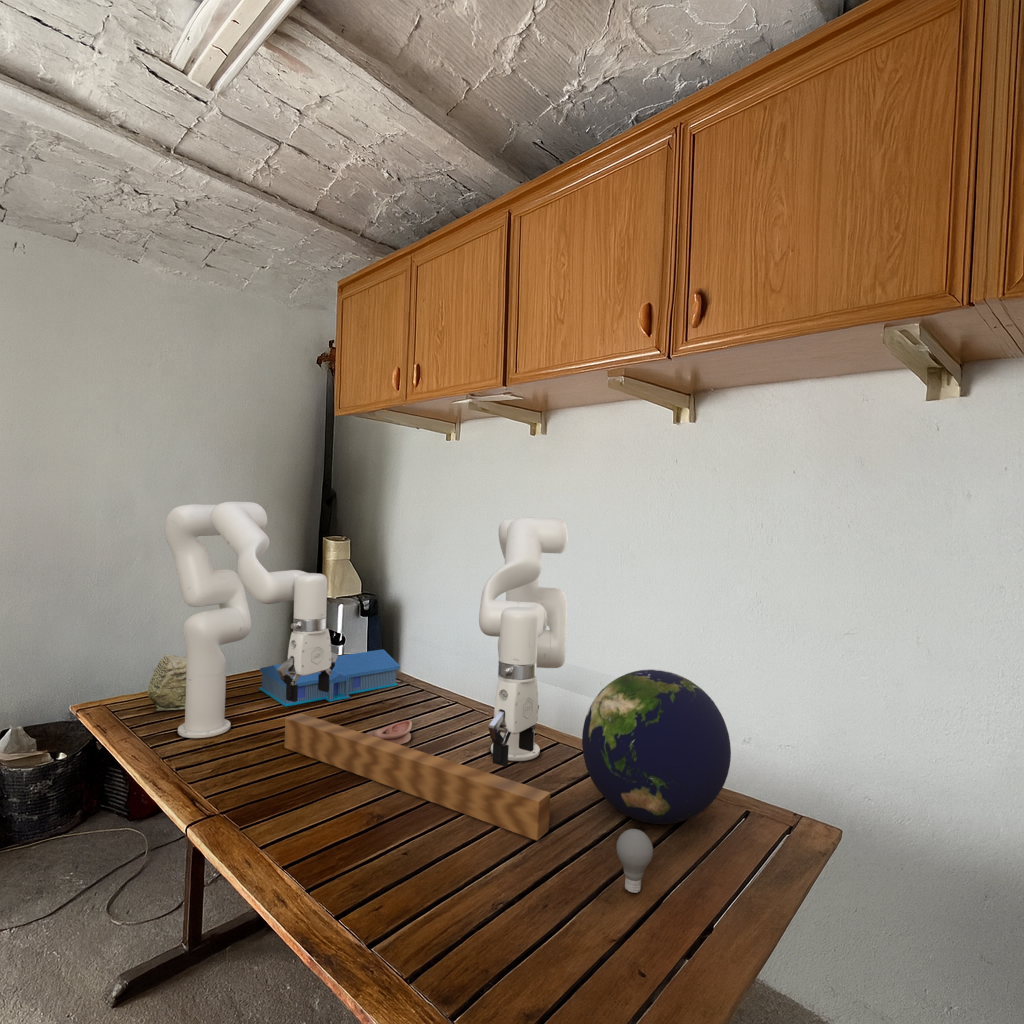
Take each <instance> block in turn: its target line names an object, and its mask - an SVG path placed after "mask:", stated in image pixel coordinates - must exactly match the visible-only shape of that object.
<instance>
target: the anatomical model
mask: <svg viewBox="0 0 1024 1024" xmlns="http://www.w3.org/2000/svg"><path fill="white" fill-rule="evenodd" d="M412 728H413V722H412V721H411V720H409V719H408V720H402V721H399V722H395V723H392V724H389V725H386V726H384V727H381V728H378V729H374V730H370V731H367V732H365V733H364V734H368V735H371V736H374V737H377V738H380V739H383V740H386V741H390V742H393V743H396V744H399V745H404V744H406V743H408V742H410V740H411V739H412V734H411V733H410V732H411V730H412Z"/></svg>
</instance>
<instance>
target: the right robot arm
mask: <svg viewBox="0 0 1024 1024" xmlns="http://www.w3.org/2000/svg"><path fill="white" fill-rule="evenodd" d="M498 541H499V546H500V549H501V552H502V556H503V558H504V564H503V565H501V566H500V567H499V568H498V569H497V570H496V571H495V572H493V574H492V575H490V577H489V578H488V579H487V580H486V582H485V584H484V586H483V588H482V592H481V595H480V596H481V597H480V604H479V613H478V625H479V629H480V631H481V632H482V633H483V634H484V635H486V636H489V637H496V638H497V637H498V639H497V654H498V665H497V666H498V670H497V678H498V680H497V684H496V685H497V686H496V691H495V700H494V709H493V712H494V713H493V719H492V720H491V721H490V722H489V724H488V725H487V727H488V731H489V738H490V740H491V743H492V744H491V745H490V753H491V754H492V759H491V760H492V761H491V762H492V764H495V765H497V766H501V767H507V766H508V765H509V761H510V762H526V761H531V760H533V759H536V758H537V757H538V756H539V755H540V753H541V748H540V746H539V745H538V743H536V742H535V735H536V734H535V733H536V731H535V730H536V727H537V726H536V724H537V723H538V719H539V709H540V705H539V688H538V687H539V686H538V677H537V668H538V669H539V668H540V669H560V668H562V667H563V666H564V664H565V662H566V659H567V641H568V640H567V639H568V636H567V635H568V601H567V596H566V593H565V592H564V591H563V590H561V588H560V589H559V588H556V587H542V586H540V576H541V573H542V554H561V555H562V554H563V553H564V552H565V551H566V550H567V546H568V542H569V531H568V526H567V524H566V522H565V521H564V520H563V519H561V518H556V517H555V518H553V517H551V518H550V517H535V516H533V517H532V516H525V517H523V516H522V517H509V518H505V519H503V520H502V521H500V523H499V525H498ZM504 593H505V600H497V598H498V597H499V596H501V595H502V594H504ZM547 627H548V628H549V629H547Z"/></svg>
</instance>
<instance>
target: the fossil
mask: <svg viewBox="0 0 1024 1024" xmlns="http://www.w3.org/2000/svg"><path fill="white" fill-rule="evenodd" d="M186 666H187V657H186V656H183V657H182V656H178V655H175V654H174V655H173V654H165V655H164V656H163V657H162V658H161V659H160V660H159V662H158V663H157V666H156V667H155V669H154V670H153V672H152V675H151V677H150V680H149V684H148V688H147V697H148V699H149V700H150V701H152V703H153V704H154V706H155V711H158V712H159V711H162V712H163V711H177V710H185V701H186Z"/></svg>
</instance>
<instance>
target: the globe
mask: <svg viewBox="0 0 1024 1024" xmlns="http://www.w3.org/2000/svg"><path fill="white" fill-rule="evenodd" d="M581 748H582V756H583V759H584V764H585V767H586V770H587V772H588V775H589V777H590V779H591V781H592V784H593V785H594V786H595V788H596V789H597V791H598V793H600V795H601V796H602V797H603V798H604V799H605V800H606V801H607V802H608V803H609V805H611V806H612V807H613V808H614V809H616V810H618V812H620V813H622V814H623V815H625V816H627V817H629V818H632V819H634V820H636V821H639V822H643V823H646V824H652V825H672V824H673V825H674V824H678V823H682V822H685V821H688V820H690V819H692V818H694V817H697V816H698V815H699V814H700V813H702V812H704V811H705V810H706V809H707V808H708V807H709V806H710V805H712V803H713V802H714V801H715V800H716V799H717V798H718V796H719V795H720V793H721V791H722V789H723V788H724V786H725V783H726V780H727V778H728V776H729V771H730V767H731V760H732V759H731V758H732V750H731V749H732V747H731V738H730V734H729V731H728V727H727V724H726V721H725V719H724V717H723V715H722V712H721V711H720V709H719V708H718V706H717V704H716V703H715V701H714V700H713V699H712V697H710V696H709V694H708V693H707V692H705V690H704V689H702V688H701V687H700V686H698V685H697V684H696V683H694V682H693V681H692V680H690V679H688V678H686V677H684V676H683V675H680V674H677V673H674V672H672V671H668V670H667V671H666V670H663V669H654V668H653V669H640V670H635V671H630V672H627V673H625V674H623V675H621V676H618V677H617V678H615V679H613V680H612V681H611V682H609V683H608V684H606V685H605V686H604V687H603V688H602V689H601V690H600V691H599V693H598V694H597V695H596V696H595V698H594V699H593V701H592V702H591V704H590V706H589V708H588V710H587V713H586V715H585V719H584V722H583V728H582V737H581Z"/></svg>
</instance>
